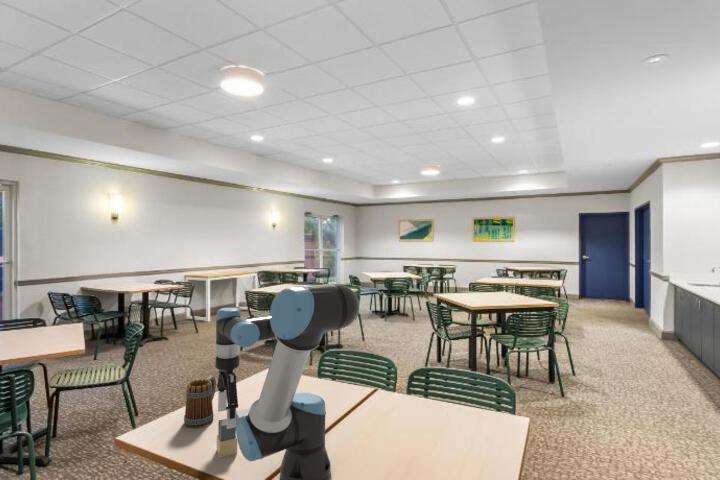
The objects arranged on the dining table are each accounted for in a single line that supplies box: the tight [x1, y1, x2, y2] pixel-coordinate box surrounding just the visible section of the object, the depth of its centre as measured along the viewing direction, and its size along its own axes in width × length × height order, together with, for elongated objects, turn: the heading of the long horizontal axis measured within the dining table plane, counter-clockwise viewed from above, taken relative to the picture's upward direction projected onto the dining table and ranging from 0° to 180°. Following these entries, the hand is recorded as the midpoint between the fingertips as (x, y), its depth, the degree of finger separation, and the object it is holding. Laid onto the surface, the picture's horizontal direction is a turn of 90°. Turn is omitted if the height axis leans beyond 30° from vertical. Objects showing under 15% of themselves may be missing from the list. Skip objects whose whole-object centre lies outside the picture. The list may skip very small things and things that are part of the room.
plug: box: [216, 418, 238, 459], centre depth 132 cm, size 5×5×10 cm
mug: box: [183, 376, 217, 429], centre depth 155 cm, size 16×11×15 cm
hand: (226, 418), depth 132 cm, fingers open, 13 cm apart
